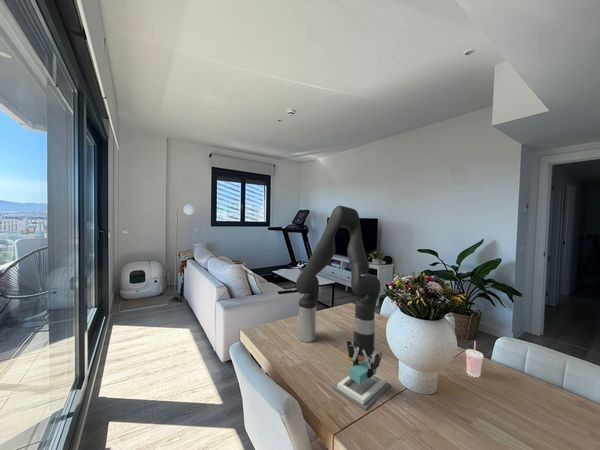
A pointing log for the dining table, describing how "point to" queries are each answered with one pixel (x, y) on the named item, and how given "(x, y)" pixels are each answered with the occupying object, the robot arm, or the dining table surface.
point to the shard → (358, 358)
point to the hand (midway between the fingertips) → (362, 373)
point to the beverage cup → (474, 361)
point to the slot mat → (362, 390)
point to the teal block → (360, 372)
